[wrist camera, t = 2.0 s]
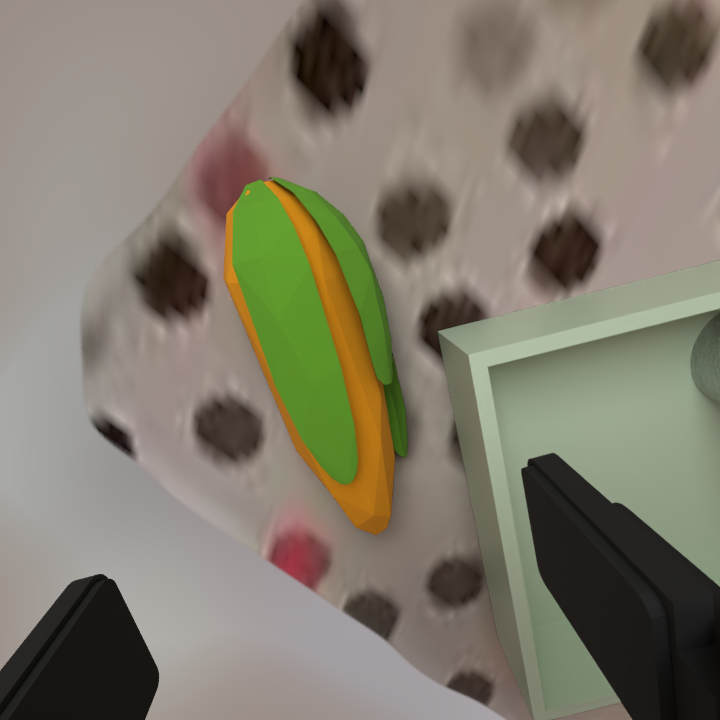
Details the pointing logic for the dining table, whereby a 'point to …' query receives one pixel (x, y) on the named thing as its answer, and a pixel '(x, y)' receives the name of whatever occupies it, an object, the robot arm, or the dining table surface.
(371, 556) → the dining table surface
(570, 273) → the dining table surface
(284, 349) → the corn
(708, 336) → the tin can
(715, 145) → the dining table surface
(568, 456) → the crate
